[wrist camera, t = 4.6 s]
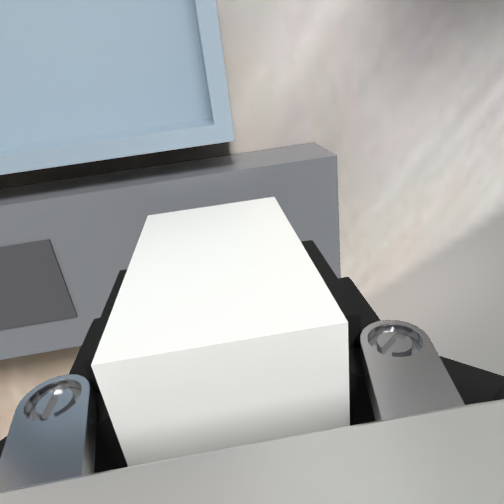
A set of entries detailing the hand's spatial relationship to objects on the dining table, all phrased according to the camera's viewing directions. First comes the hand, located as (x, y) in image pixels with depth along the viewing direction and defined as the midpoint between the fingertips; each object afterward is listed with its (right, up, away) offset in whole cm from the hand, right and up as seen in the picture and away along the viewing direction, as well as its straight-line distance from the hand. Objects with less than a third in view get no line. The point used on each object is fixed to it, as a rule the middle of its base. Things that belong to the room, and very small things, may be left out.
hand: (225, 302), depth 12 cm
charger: (0, +2, +4) cm, 4 cm away
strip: (-6, +2, +6) cm, 9 cm away
